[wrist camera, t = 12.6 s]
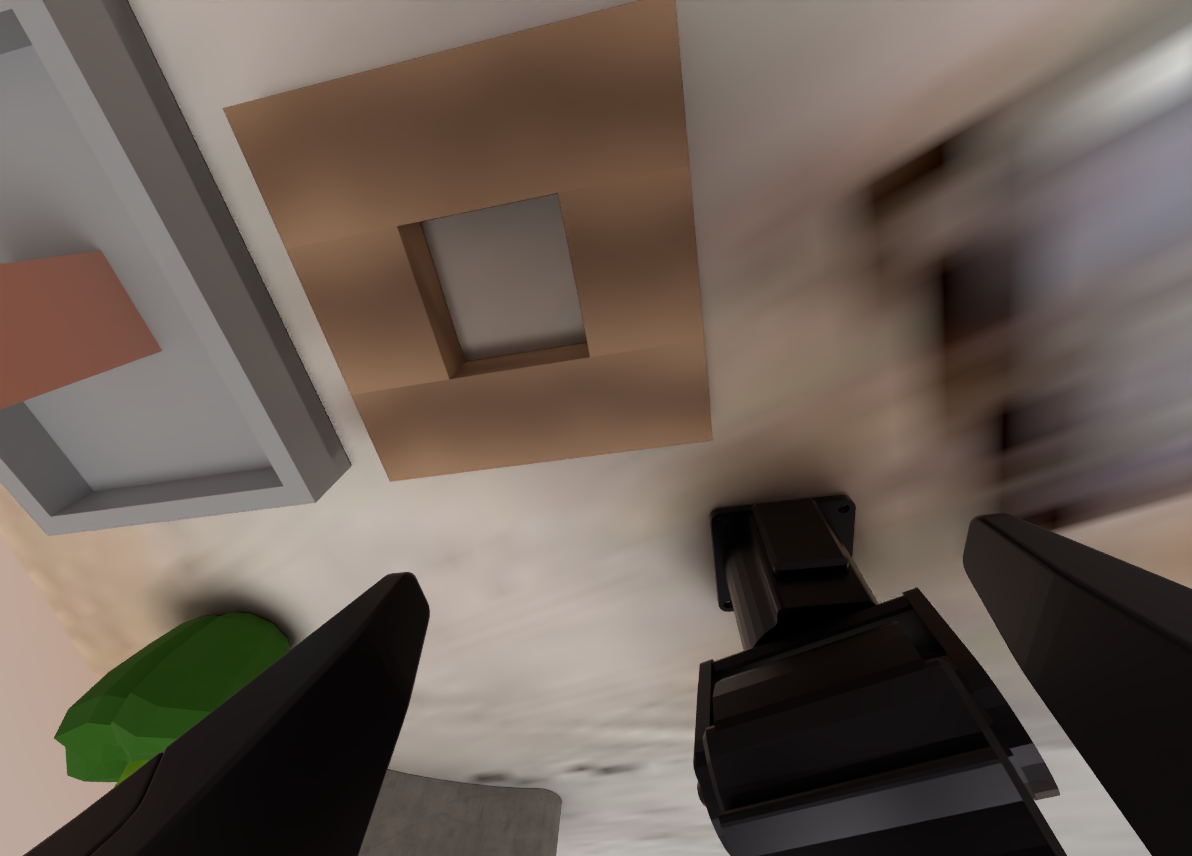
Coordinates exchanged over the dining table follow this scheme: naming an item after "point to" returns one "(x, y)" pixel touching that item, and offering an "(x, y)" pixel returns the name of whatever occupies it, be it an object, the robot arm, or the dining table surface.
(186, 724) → the bell pepper
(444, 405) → the socket block
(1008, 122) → the dining table surface
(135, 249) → the tray
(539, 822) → the hip flask
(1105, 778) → the robot arm
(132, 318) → the brown tall block
